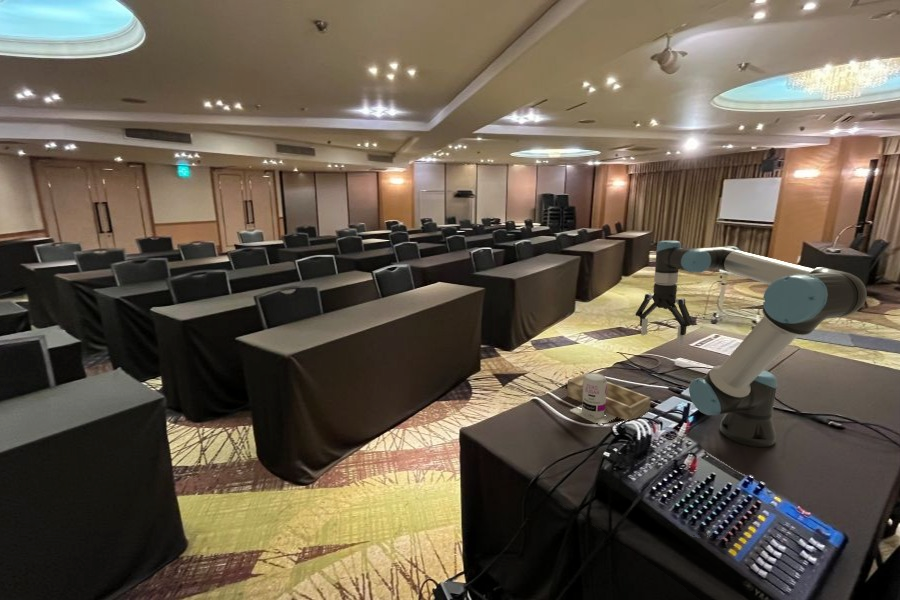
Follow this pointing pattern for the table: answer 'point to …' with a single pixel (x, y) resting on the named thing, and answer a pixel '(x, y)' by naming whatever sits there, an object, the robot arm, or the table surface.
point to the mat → (598, 420)
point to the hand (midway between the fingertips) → (661, 338)
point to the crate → (633, 399)
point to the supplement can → (594, 395)
